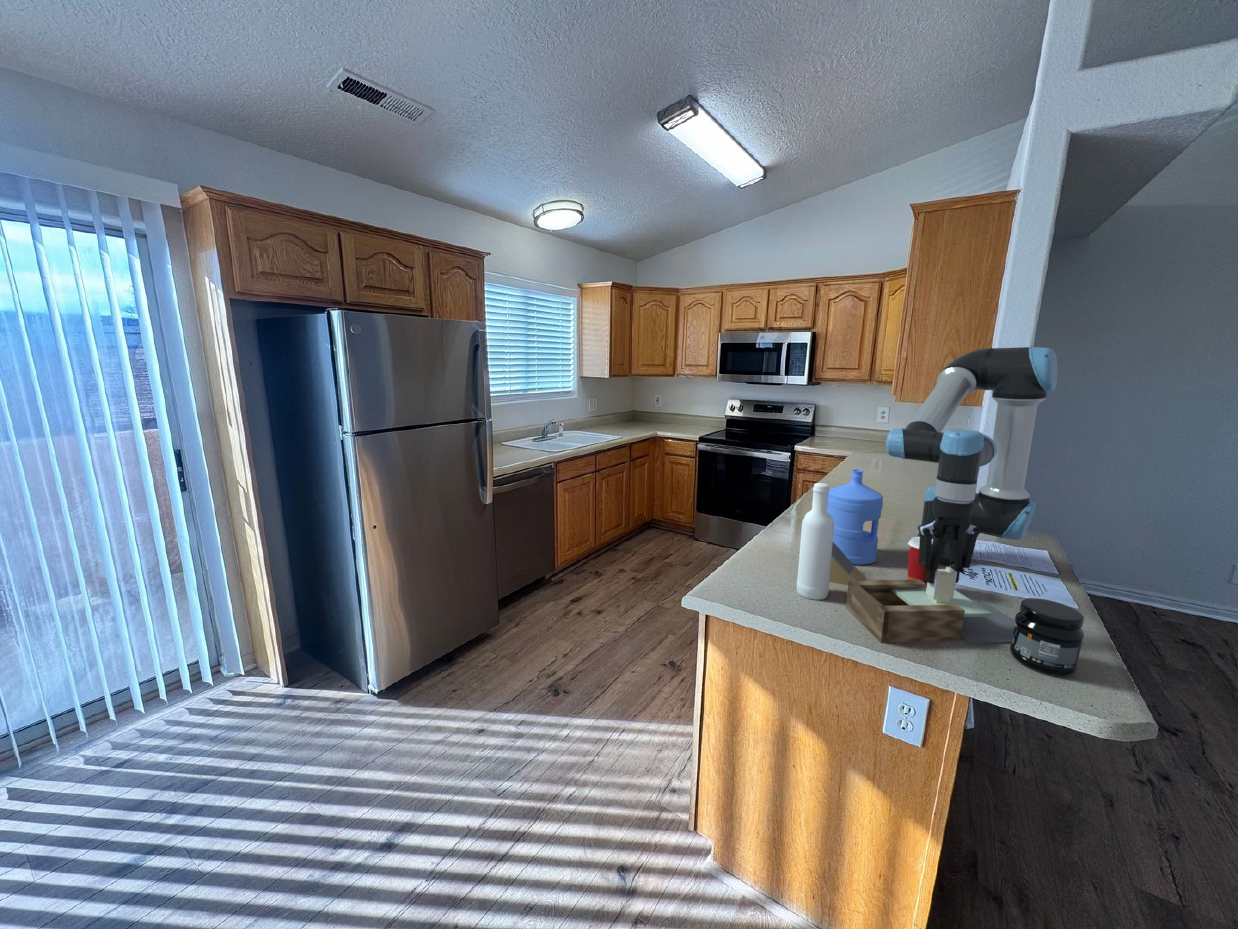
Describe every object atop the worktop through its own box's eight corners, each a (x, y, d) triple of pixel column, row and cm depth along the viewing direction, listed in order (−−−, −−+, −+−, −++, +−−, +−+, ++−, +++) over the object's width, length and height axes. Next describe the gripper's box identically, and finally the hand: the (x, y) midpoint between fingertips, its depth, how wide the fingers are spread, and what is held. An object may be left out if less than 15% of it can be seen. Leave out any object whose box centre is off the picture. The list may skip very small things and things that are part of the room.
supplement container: (1043, 647, 105) (1053, 596, 103) (1091, 678, 95) (1103, 622, 92) (995, 648, 105) (1005, 596, 102) (1038, 679, 95) (1050, 622, 92)
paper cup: (931, 585, 134) (938, 537, 132) (939, 598, 127) (946, 547, 124) (899, 581, 137) (905, 534, 134) (905, 593, 130) (911, 544, 127)
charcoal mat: (984, 603, 125) (984, 601, 125) (1047, 642, 107) (1047, 640, 107) (915, 604, 124) (916, 602, 124) (968, 644, 106) (968, 642, 106)
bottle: (834, 595, 128) (845, 485, 122) (815, 603, 124) (825, 489, 118) (808, 584, 135) (817, 479, 129) (789, 591, 131) (798, 483, 125)
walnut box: (915, 606, 123) (919, 579, 121) (959, 640, 108) (964, 610, 106) (845, 608, 122) (848, 580, 120) (880, 642, 107) (884, 611, 105)
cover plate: (949, 590, 121) (954, 560, 119) (990, 616, 108) (996, 584, 106) (890, 590, 120) (894, 561, 119) (925, 617, 108) (929, 584, 106)
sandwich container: (864, 589, 132) (870, 537, 129) (805, 577, 140) (809, 528, 137) (866, 578, 140) (871, 528, 137) (809, 567, 147) (814, 519, 144)
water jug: (822, 561, 151) (830, 473, 145) (822, 544, 165) (829, 463, 160) (878, 569, 145) (889, 478, 140) (873, 551, 159) (883, 467, 154)
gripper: (976, 494, 113) (961, 587, 118) (907, 494, 112) (895, 588, 117) (1002, 503, 106) (985, 602, 110) (929, 504, 105) (915, 603, 110)
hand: (939, 595), depth 114 cm, fingers closed on cover plate, 3 cm apart
